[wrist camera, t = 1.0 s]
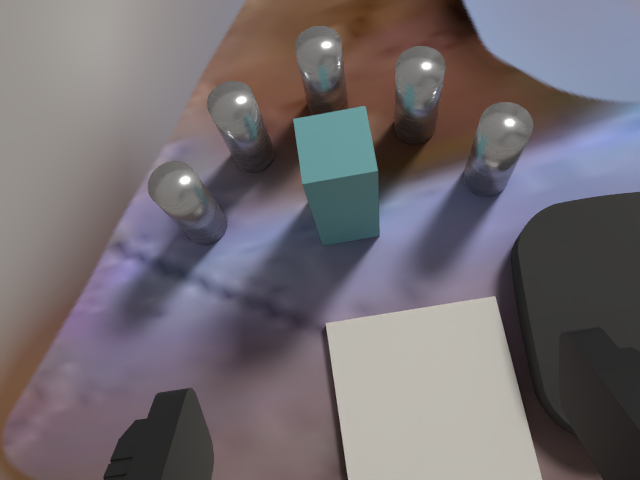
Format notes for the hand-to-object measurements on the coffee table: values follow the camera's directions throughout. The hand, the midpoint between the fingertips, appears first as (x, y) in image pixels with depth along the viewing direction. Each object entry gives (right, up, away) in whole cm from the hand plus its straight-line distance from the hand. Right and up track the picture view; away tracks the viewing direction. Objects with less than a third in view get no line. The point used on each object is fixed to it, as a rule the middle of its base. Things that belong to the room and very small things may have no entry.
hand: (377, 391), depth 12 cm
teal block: (+1, +5, +27) cm, 27 cm away
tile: (+5, -6, +22) cm, 24 cm away
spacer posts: (0, +10, +28) cm, 30 cm away
